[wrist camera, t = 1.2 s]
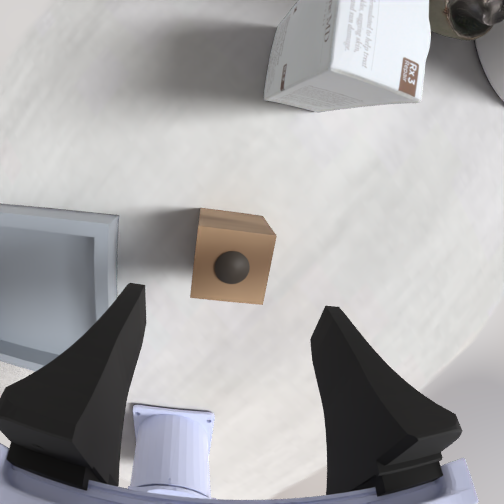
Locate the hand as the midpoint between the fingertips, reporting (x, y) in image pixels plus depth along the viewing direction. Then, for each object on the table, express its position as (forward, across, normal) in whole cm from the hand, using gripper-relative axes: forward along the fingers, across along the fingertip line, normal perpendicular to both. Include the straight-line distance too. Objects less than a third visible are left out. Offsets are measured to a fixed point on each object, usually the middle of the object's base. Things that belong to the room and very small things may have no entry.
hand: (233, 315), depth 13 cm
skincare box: (+14, -3, -9) cm, 17 cm away
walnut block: (+11, 0, +3) cm, 11 cm away
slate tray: (+9, +15, +9) cm, 19 cm away
